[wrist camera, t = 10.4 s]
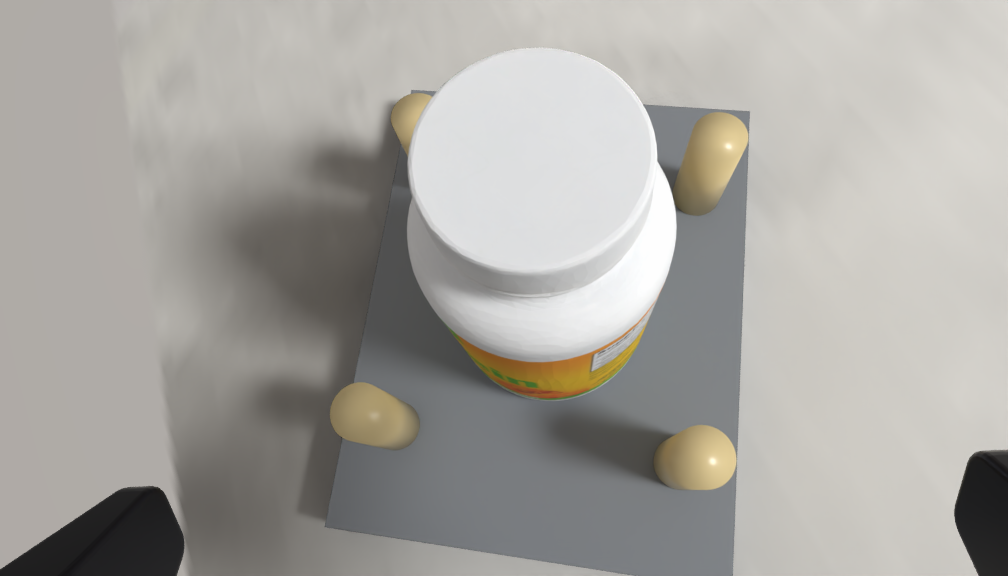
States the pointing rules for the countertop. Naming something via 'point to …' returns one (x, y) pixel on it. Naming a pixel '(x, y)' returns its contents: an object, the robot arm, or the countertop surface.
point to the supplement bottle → (540, 219)
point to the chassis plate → (567, 423)
